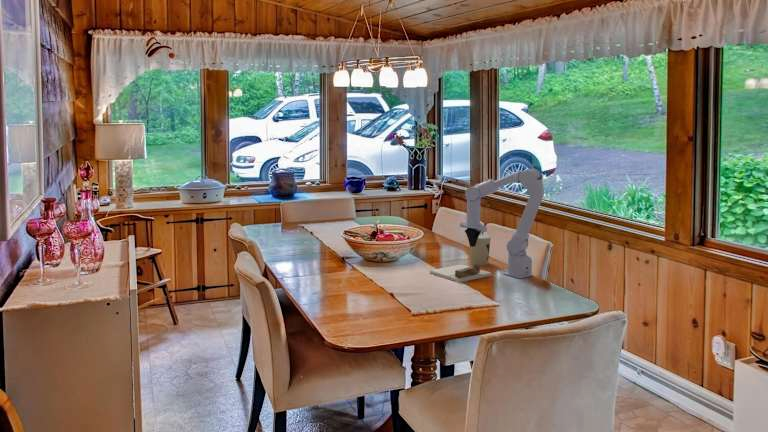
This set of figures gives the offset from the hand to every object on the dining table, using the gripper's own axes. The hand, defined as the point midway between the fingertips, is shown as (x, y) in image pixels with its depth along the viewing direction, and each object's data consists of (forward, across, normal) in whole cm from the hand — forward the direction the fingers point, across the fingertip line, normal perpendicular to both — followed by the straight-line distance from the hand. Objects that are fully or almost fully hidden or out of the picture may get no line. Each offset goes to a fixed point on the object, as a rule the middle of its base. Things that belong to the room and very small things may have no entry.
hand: (472, 246), depth 289 cm
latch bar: (+8, -10, +12) cm, 18 cm away
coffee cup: (+10, +6, -10) cm, 15 cm away
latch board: (+10, -4, +10) cm, 15 cm away
